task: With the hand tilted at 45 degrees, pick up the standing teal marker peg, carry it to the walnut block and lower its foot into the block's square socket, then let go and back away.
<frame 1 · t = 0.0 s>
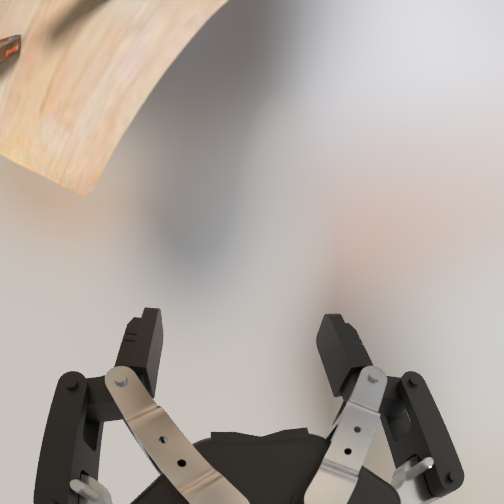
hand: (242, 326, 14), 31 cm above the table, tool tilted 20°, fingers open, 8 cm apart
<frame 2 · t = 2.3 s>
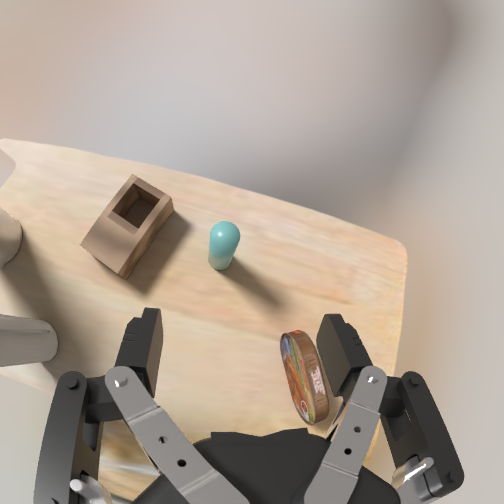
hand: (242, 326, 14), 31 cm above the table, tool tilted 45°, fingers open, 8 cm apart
tin: (295, 374, 43), on the table
peg: (219, 259, 46), on the table
socket: (141, 217, 46), on the table
water bottle: (48, 339, 38), on the table
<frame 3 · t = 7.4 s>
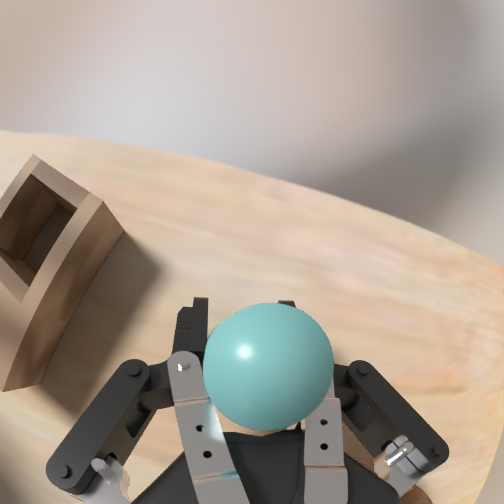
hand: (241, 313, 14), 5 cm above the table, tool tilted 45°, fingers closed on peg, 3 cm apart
peg: (233, 347, 19), on the table, touching gripper
socket: (59, 248, 18), on the table
when the fingers open (7 cm above the table, at t = 12.9 s): peg drops 2 cm, resting in socket.
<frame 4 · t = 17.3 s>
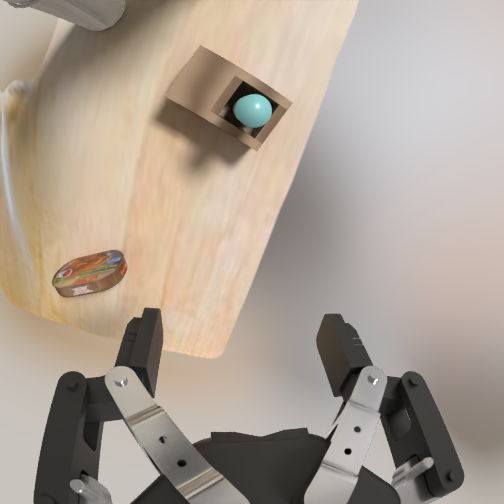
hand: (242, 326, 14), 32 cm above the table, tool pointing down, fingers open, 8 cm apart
tin: (96, 260, 47), on the table
peg: (245, 109, 37), resting in socket
socket: (245, 108, 37), on the table
water bottle: (108, 16, 27), on the table
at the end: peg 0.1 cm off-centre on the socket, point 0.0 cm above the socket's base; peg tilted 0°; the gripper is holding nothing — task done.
